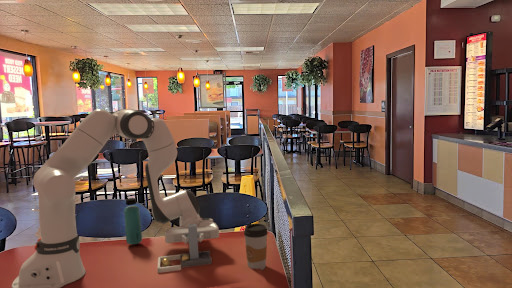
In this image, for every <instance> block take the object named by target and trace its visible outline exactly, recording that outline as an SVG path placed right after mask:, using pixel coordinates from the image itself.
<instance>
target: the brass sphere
mask: <svg viewBox="0 0 512 288" xmlns="http://www.w3.org/2000/svg"><path fill="white" fill-rule="evenodd" d="M184 254H185V253H184ZM185 260H190V256H189V255H187V254H185V255H183V256H182V261H185Z"/></svg>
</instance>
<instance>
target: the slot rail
mask: <svg viewBox="0 0 512 288" xmlns="http://www.w3.org/2000/svg"><path fill="white" fill-rule="evenodd" d="M185 254H187V255H189V256H190V252H188V253H180V259H179V260H180V265H181V269H182V268H188V267H197V266H205V265H211V264H212V263H213V260H212V259H213V258H212V257H211V251H210V250H205V251H198V257H199V259H193V260H185V261H182V256H183V255H185Z"/></svg>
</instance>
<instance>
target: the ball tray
mask: <svg viewBox="0 0 512 288" xmlns="http://www.w3.org/2000/svg"><path fill="white" fill-rule="evenodd" d="M180 254H181V253H180ZM180 254H173V255H171V254H170V255H164V256H158V257H157V273H159V274H160V273H167V272H168V273H169V272H175V271H181V270H182V268H181V264H177V265H169V266H166V267H164V266H162V261H163V259H165V258H167V259H169V260H170V261H176V260H180Z"/></svg>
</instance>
